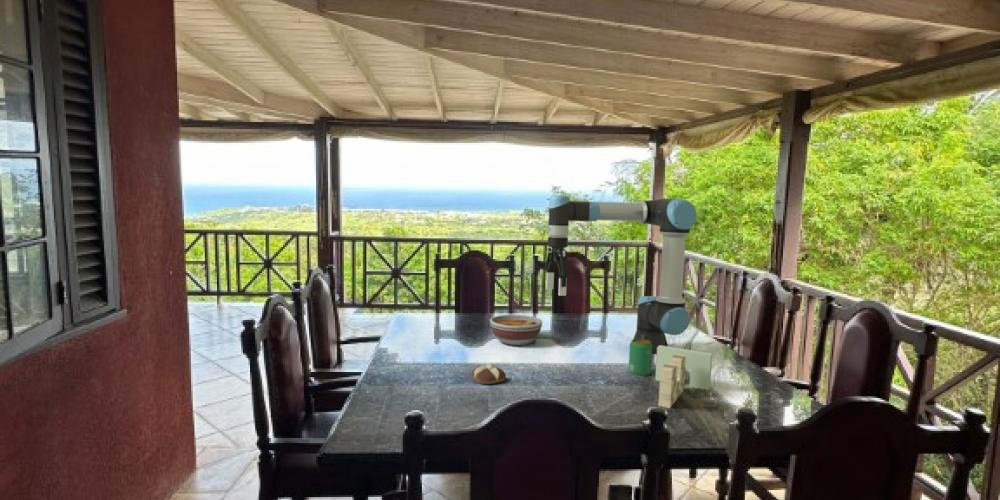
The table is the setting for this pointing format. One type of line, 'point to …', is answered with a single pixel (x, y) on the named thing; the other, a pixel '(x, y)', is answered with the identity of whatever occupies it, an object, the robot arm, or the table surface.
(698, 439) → the table surface
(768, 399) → the table surface
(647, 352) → the beverage can
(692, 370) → the pale green rectangular block
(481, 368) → the bread
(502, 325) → the bowl
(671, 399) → the wooden block structure
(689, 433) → the table surface
